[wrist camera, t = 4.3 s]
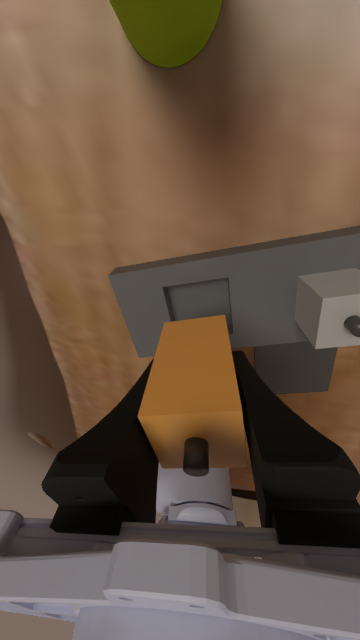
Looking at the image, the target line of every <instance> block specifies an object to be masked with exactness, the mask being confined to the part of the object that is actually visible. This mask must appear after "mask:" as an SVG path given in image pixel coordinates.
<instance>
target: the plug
mask: <svg viewBox="0 0 360 640" xmlns="http://www.w3.org/2000/svg"><path fill="white" fill-rule="evenodd" d="M137 417H138V419H139V421H140V423H141V425H142V427H143V429H144V431H145V433H146V435H147V437H148V440H149V442H150V444H151V446H152V448H153V450H154V452H155V454H156V456H157V458H158V460H159V462H160V464H161V467H162V469H175V468H183V471H184V472H185V473H186V474H188V475H190V476H194V477H201V476H205V475H207V474H208V473H209V468H248V463H247V454H246V444H245V434H244V424H243V414H242V407H241V401H240V396H239V390H238V385H237V379H236V373H235V368H234V362H233V357H232V351H231V345H230V340H229V334H228V329H227V323H226V318H225V315H218V316H210V317H203V318H195V319H188V320H181V321H173V322H166V323H164V326H163V329H162V333H161V336H160V340H159V343H158V347H157V350H156V354H155V357H154V361H153V364H152V367H151V371H150V374H149V378H148V381H147V385H146V388H145V392H144V395H143V399H142V402H141V406H140V409H139V413H138V416H137Z"/></svg>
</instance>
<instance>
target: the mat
mask: <svg viewBox="0 0 360 640" xmlns="http://www.w3.org/2000/svg"><path fill="white" fill-rule="evenodd" d="M336 352H337V347H333V348H321V349H315V348H314V347H313V345H312V344H311V343H310V341H306V342H295V343H285V344H274V345H264V346H255V371H256V373H257V374H258V375H259V376H260V378H261V379H262V380H263V381H264V383H265V384H266V385H267V386H268V387H269V388H270V389H271V391H272V392H273V393H274V394H287V393H304V392H321V391H328V388H329V383H330V379H331V374H332V370H333V365H334V361H335V356H336Z"/></svg>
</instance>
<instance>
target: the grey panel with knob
mask: <svg viewBox="0 0 360 640" xmlns="http://www.w3.org/2000/svg"><path fill="white" fill-rule="evenodd" d="M108 276H109V279H110V282H111V284H112V287H113V290H114V292H115V295H116V298H117V300H118V303H119V306H120V308H121V311H122V314H123V316H124V319H125V322H126V324H127V327H128V330H129V332H130V335H131V338H132V340H133V343H134V346H135V349H136V351H137V354H138V357H149V356H155V354H156V350H157V347H158V343H159V340H160V336H161V333H162V329H163V326H164V323H166V322H173V321H181V320H188V319H195V318H203V317H210V316H218V315H225V318H226V323H227V329H228V334H229V340H230V345H231V349H232V348H243V347H253V346H264V345H274V344H285V343H295V342H306V341H310V343H311V344H312V345H313V347H314V348H315V349H321V348H333V347H344V346H355V345H360V226H356V227H350V228H344V229H338V230H333V231H327V232H321V233H315V234H309V235H304V236H298V237H292V238H286V239H281V240H275V241H269V242H263V243H257V244H252V245H246V246H240V247H234V248H228V249H223V250H217V251H211V252H205V253H199V254H194V255H188V256H182V257H176V258H171V259H165V260H159V261H153V262H147V263H142V264H136V265H130V266H124V267H118V268H116V269H114V270H113V271H112V272H111V273H110V274H109V275H108Z"/></svg>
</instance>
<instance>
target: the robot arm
mask: <svg viewBox="0 0 360 640" xmlns="http://www.w3.org/2000/svg"><path fill="white" fill-rule="evenodd" d="M232 357H233V362H234V368H235V373H236V379H237V385H238V390H239V396H240V401H241V407H242V414H243V423H244V427H245V432H246V436H247V442H248V448H249V453H250V459H251V465H252V472H253V478H254V484H255V490H256V496H257V502H258V508H259V515H260V521H261V528H260V527H245V526H244V524H243V523H242V522H240V521H239V522H238V521H236V511H233V506H232V495H231V485H230V475H229V468H209V473H208V474H207V475H205V476H201V477H194V476H190V475H188V474H186V473H185V472H184V471H183V468H175V469H162V467H161V464H160V462H159V460H158V458H157V456H156V454H155V452H154V450H153V448H152V446H151V444H150V442H149V440H148V437H147V435H146V433H145V431H144V429H143V427H142V425H141V423H140V421H139V419H138V417H137V416H138V413H139V409H140V406H141V402H142V399H143V395H144V392H145V388H146V385H147V381H148V378H149V374H150V371H151V367H152V364H153V361H154V359H153V360H152V361H151V363H150V364H149V366H148V367H147V368H146V370H145V371H144V373H143V374H142V375H141V377H140V378H139V379H138V381H137V382H136V384H135V385H134V386H133V387H132V389H131V390H130V391H129V392H128V393H127V395H126V396H125V397H124V398H123V399H122V400H121V402H120V403H119V404H118V405H117V406H116V407H115V408H114V409H113V410H112V411H111V412H110V413H109V414H108V415H107V416H105V417H104V418H103V419H102V420H101V421H100V422H99V423H98V424H97V425H95V426H94V427H93V428H92V429H90V430H89V431H88V432H87V433H85V434H84V435H83V436H81V437H80V438H79V439H77V440H76V441H75V442H73V443H72V444H70V445H69V446H67V447H66V448H65V449H63V450H62V451H60V452H59V453H58V454H57V456H56V458H55V460H54V461H53V463H52V465H51V467H50V469H49V471H48V472H47V474H46V476H45V478H44V480H43V482H42V488H43V491H44V492H45V493H46V494H47V495H48V496H49V497H51V498H52V499H53V500H54V501H55V502H56V503H57V504H58V505H59V506H58V509H57V511H56V513H55V515H54V518H53V519H40V518H23V516H22V515H21V514H19V513H18V512H16V511H13V510H0V610H2V611H9V612H16V613H22V614H28V615H35V616H41V617H47V618H54V619H60V620H66V621H72V622H76V625H75V629H74V632H73V636H72V639H71V640H360V506H359V504H358V502H357V500H356V497H357V495H358V493H359V491H360V475H359V473H358V471H357V469H356V467H355V466H354V464H353V463H352V462H351V460H350V459H349V457H348V456H347V454H346V453H345V452H344V450H343V449H342V448H341V447H340V446H338V445H337V444H335V443H334V442H332V441H331V440H329V439H328V438H326V437H325V436H324V435H322V434H321V433H319V432H318V431H317V430H315V429H314V428H313V427H311V426H310V425H309V424H307V423H306V422H305V421H304V420H303V419H301V418H300V417H299V416H298V415H297V414H296V413H294V412H293V411H292V410H291V409H290V408H289V407H288V406H286V405H285V404H284V403H283V402H282V401H281V400H280V399H279V398H278V397H277V396H276V395H275V394H274V393H273V392H272V391H271V389H270V388H269V387H268V386H267V385H266V384H265V383H264V381H263V380H262V379H261V378H260V376H259V375H258V374H257V373H256V371H255V370H254V368H253V367H252V366H251V364H250V363H249V361H248V359H247V358H246V356H245V354H244V352H243V351H232ZM156 510H157V512H158V513H161V514H168V515H163V516H162V518H161V519H160V520H159V522H158V523H155V520H156V519H155V518H156ZM254 557H262V559H257V558H254Z"/></svg>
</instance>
